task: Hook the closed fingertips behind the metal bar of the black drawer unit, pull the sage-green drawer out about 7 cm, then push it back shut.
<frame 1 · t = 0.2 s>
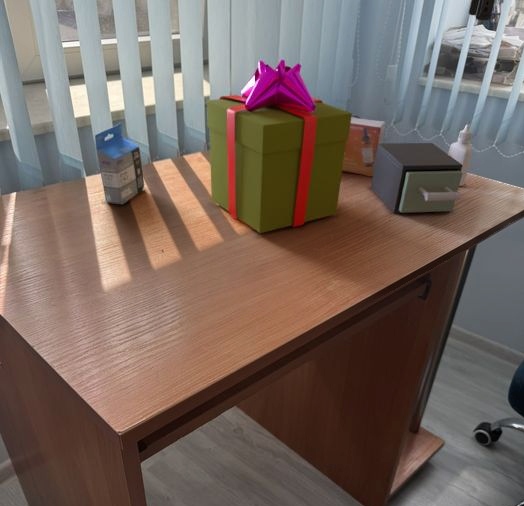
hand: (478, 17, 86), 32 cm above the table, tool pointing down, fingers open, 8 cm apart
vhs cassette tape: (318, 165, 121), on the table
small box: (357, 171, 119), on the table
drawer: (422, 185, 99), point 5 cm above the table, slide at 0.5 cm
eye dropper bottle: (452, 183, 115), on the table
cabinet: (408, 199, 106), on the table
gift box: (272, 211, 99), on the table
label tape box: (125, 196, 101), on the table
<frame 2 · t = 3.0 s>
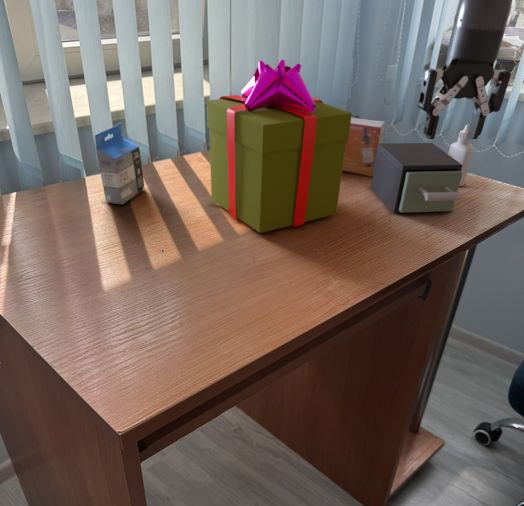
hand: (451, 137, 88), 15 cm above the table, tool pointing down, fingers open, 7 cm apart
nothing on the table moved.
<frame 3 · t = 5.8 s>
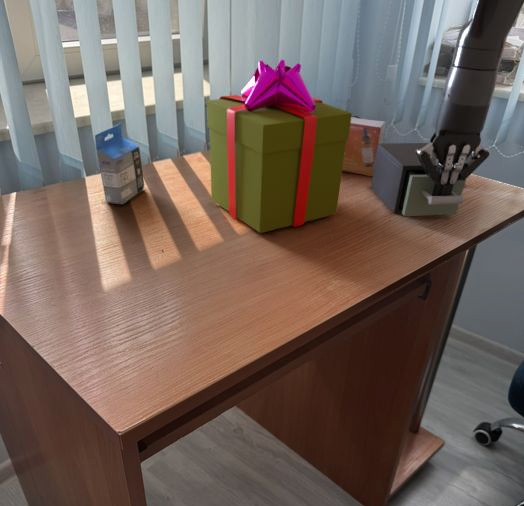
hand: (439, 202, 93), 4 cm above the table, tool pointing down, fingers closed
drawer: (426, 188, 98), point 5 cm above the table, slide at 2.1 cm, touching gripper
everything else where it was.
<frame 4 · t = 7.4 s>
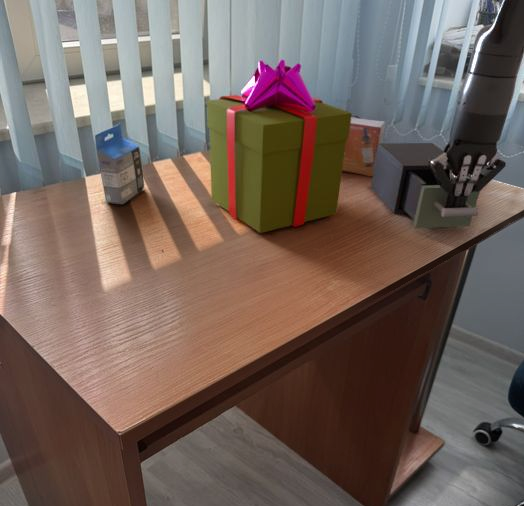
hand: (452, 214, 89), 4 cm above the table, tool pointing down, fingers closed
drawer: (438, 199, 94), point 5 cm above the table, slide at 7.4 cm, touching gripper
everything else where it was.
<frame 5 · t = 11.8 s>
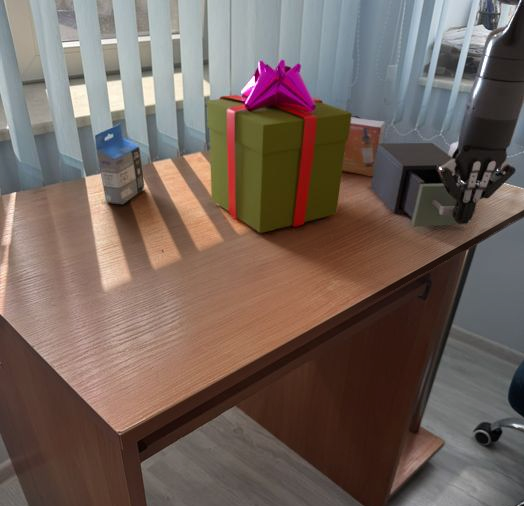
hand: (460, 221, 87), 4 cm above the table, tool pointing down, fingers closed
drawer: (436, 197, 94), point 5 cm above the table, slide at 6.6 cm, touching gripper
everything else where it was.
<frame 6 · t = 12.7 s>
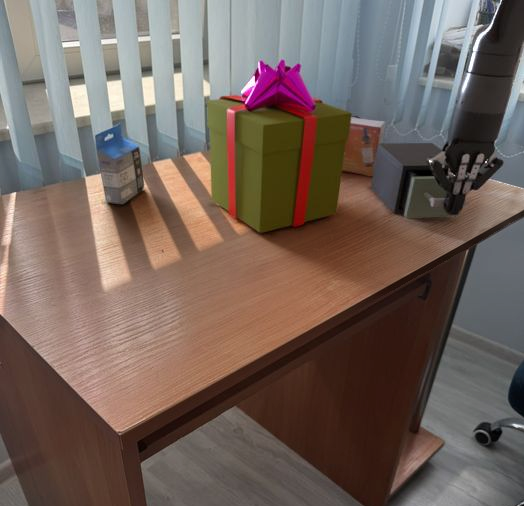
hand: (451, 213, 90), 4 cm above the table, tool pointing down, fingers closed
drawer: (428, 190, 97), point 5 cm above the table, slide at 3.0 cm, touching gripper
everything else where it was.
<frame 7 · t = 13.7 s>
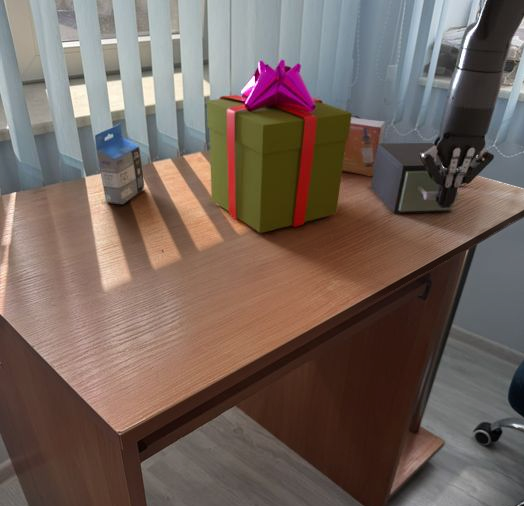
hand: (443, 206, 92), 4 cm above the table, tool pointing down, fingers closed
drawer: (421, 184, 100), point 5 cm above the table, slide at 0.0 cm, touching cabinet, gripper
everything else where it was.
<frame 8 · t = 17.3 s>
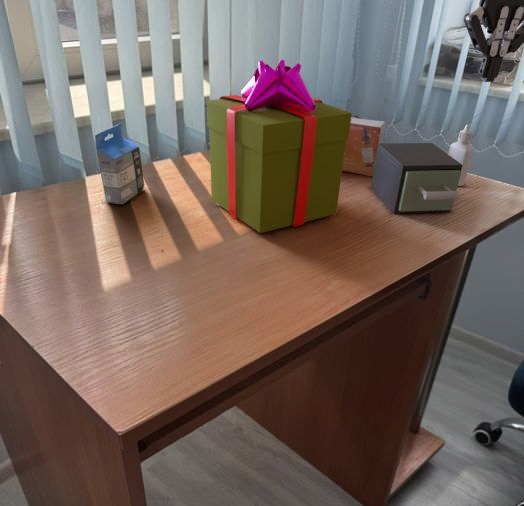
hand: (486, 80, 87), 23 cm above the table, tool pointing down, fingers closed
drawer: (421, 184, 100), point 5 cm above the table, slide at 0.0 cm, touching cabinet
everything else where it was.
at the end: drawer pulled out 7.5 cm at the most during the clip, back to where it started at the end; drawer slide at 0.0 cm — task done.
